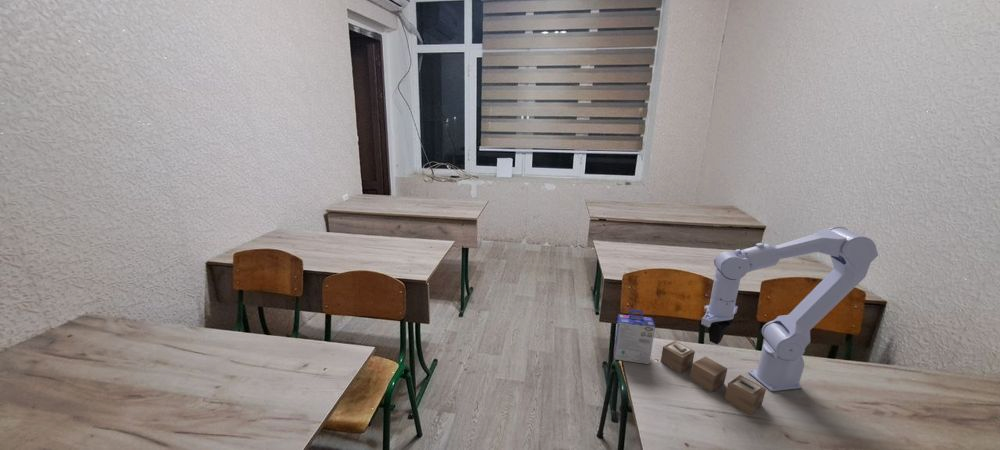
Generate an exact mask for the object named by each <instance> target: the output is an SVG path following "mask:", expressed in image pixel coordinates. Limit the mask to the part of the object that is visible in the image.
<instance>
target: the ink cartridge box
mask: <svg viewBox="0 0 1000 450" xmlns="http://www.w3.org/2000/svg"><path fill="white" fill-rule="evenodd" d="M634 313H637V314H640V315H637V314H636V315H635V314H634ZM616 322H617V323H616V330H615V341H614V348H613V355H614V356H613V357H614V360H617V361H618V360H619V361H624V362H632V363H639V364H646V365H650V363H651V357H652V351H653V350H652V349H653V342H654V338H655V329H656V325H655V322H654V319H653V318H652V317H647V316H644V311H643V310H640V309H639V310H638V309H633V308H630V310H629V314H628V315H627V314H621V313H620V314H617V321H616Z"/></svg>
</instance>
